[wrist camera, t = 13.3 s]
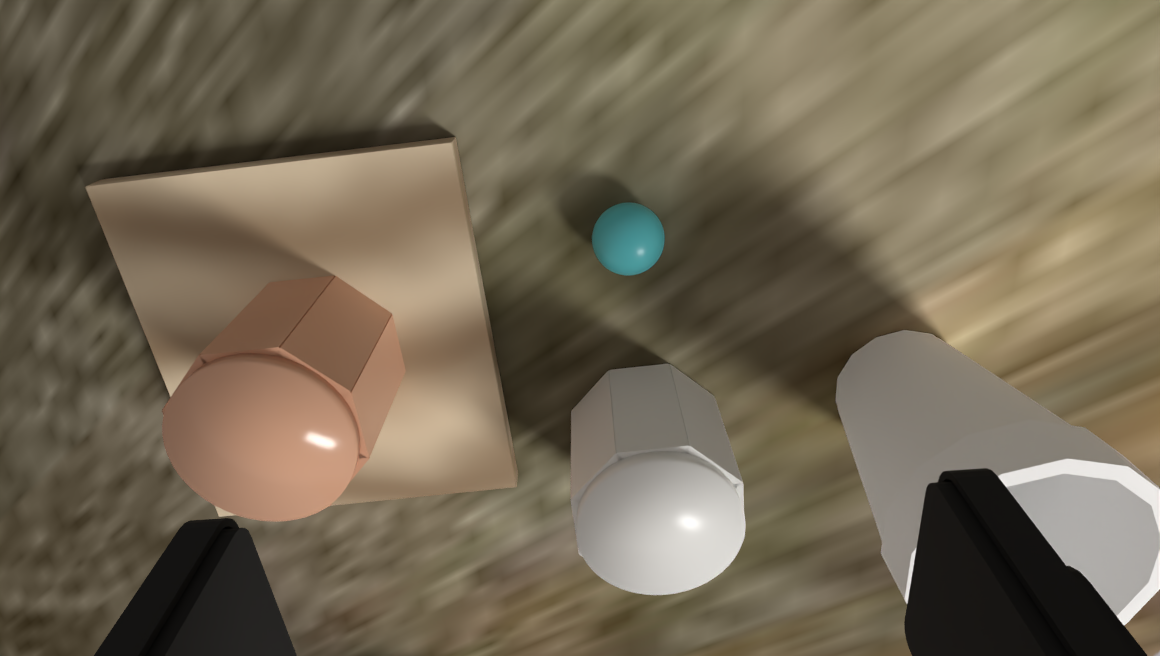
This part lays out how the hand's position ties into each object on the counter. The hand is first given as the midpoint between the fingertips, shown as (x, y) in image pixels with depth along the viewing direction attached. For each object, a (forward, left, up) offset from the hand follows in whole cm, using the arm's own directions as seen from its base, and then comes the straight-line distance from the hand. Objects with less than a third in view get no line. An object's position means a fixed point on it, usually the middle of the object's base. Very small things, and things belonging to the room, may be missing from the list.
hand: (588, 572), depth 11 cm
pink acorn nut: (+7, -13, -24) cm, 28 cm away
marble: (+3, +2, -24) cm, 24 cm away
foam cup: (+13, +15, -26) cm, 32 cm away
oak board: (+7, -13, -25) cm, 29 cm away
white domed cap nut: (+14, +2, -25) cm, 29 cm away
